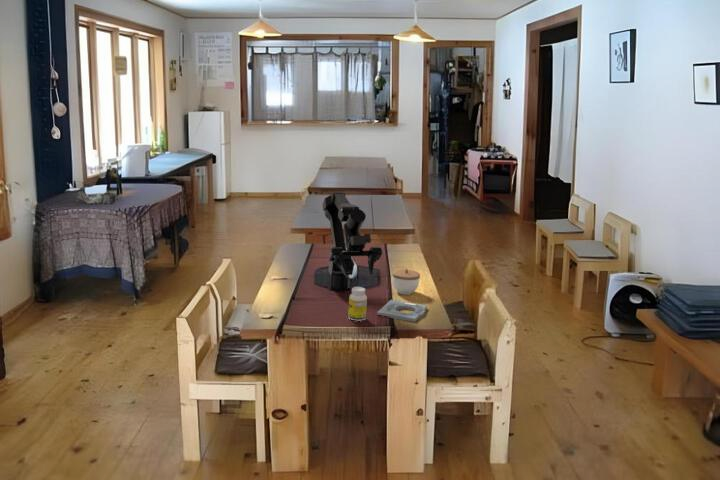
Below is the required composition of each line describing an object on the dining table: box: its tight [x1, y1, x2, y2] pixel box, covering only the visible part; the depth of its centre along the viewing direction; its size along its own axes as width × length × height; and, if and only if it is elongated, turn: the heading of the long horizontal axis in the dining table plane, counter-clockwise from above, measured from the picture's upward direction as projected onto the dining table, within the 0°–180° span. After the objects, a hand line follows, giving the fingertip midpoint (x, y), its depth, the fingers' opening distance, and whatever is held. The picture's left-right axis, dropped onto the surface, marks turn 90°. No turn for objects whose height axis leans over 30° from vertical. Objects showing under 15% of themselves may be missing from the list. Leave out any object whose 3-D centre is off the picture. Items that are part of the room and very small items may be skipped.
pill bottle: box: [347, 286, 368, 322], centre depth 263 cm, size 6×6×11 cm
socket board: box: [376, 299, 428, 323], centre depth 274 cm, size 15×16×1 cm
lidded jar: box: [392, 268, 421, 296], centre depth 296 cm, size 11×11×9 cm
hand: (358, 275), depth 269 cm, fingers open, 9 cm apart
